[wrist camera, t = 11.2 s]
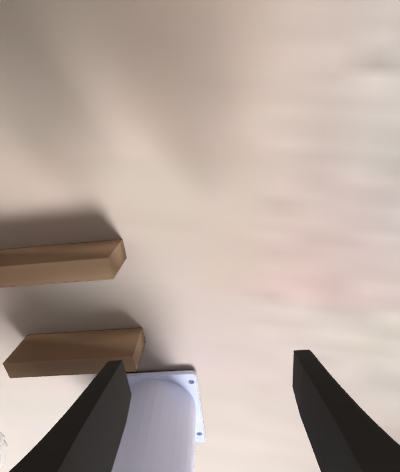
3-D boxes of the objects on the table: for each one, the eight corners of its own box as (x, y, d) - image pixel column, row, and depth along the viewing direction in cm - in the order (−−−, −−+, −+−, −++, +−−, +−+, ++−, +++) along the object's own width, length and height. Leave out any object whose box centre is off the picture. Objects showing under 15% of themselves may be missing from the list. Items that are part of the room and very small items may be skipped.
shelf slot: (145, 341, 23) (136, 371, 20) (33, 348, 23) (10, 378, 21) (122, 239, 19) (107, 257, 17) (-9, 250, 20) (-44, 270, 17)
